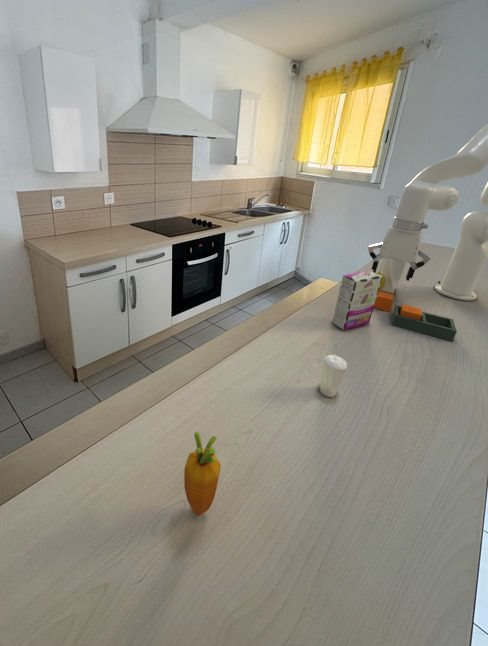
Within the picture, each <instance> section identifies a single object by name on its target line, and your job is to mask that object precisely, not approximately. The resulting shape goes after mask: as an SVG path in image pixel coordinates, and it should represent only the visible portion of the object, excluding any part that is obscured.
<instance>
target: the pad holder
mask: <svg viewBox="0 0 488 646" xmlns="http://www.w3.org/2000/svg"><path fill="white" fill-rule="evenodd" d="M401 307H402V305H401V306H400V305H397V304H395V305H394V309H393V311H392V319H391V320H392V321H391V322H392V326H395V327H398V328H402V329H406V330H410V331H412V332H417V333H420V334H423V335H428V336H431V337H434V338H439V339H441V340H445V341H446V340H447V341H450V342H454V339H455V337H456V334H457V328H456V325H455V322H454V319H453V318H449V317H445V316H441V315H437V314H433V313H429V312H425V311H421V312H422V317H421V319H420V320H416V319H412V318H408V317H404V316H400V315H399V313H400V310H401Z"/></svg>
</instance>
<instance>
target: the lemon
mask: <svg viewBox="0 0 488 646" xmlns="http://www.w3.org/2000/svg"><path fill="white" fill-rule="evenodd" d="M376 273H377V274H379V275H381V276H383V277H382V280H381V284H380V287H379V290H381V289H382V288H383V287H384V285H385V277H384V275H382V274H381V273H380V272H379V271H378V272H376Z"/></svg>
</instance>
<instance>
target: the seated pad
mask: <svg viewBox="0 0 488 646" xmlns="http://www.w3.org/2000/svg"><path fill="white" fill-rule="evenodd" d="M422 312H423V311H422V309H421V308H419V307H417V306H416V307H415V306H412V305H407V304H401V310H400V313H399V315H400V316H404V317H408V318H412V319H416V320H420V319H421V317H422Z"/></svg>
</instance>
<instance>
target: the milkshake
mask: <svg viewBox="0 0 488 646" xmlns="http://www.w3.org/2000/svg"><path fill="white" fill-rule="evenodd" d="M337 353H338V347H337V346H335V347H334V352H333V354H329V355H327V356H325V357H324V359H323V365H322V374H321V380H320V384H319V385H320V386H319V391H320V393H321V394H322V395H323V396H325V397H327V398H333V397H334V396H336V394H337V392H338V389H339V387H340V385H341V382H342V379H343V377H344V375H345V373H346V371H347V368H348V363H347V361H346V360H345V359H344V358H342V357H340V356H338V355H337Z"/></svg>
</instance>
